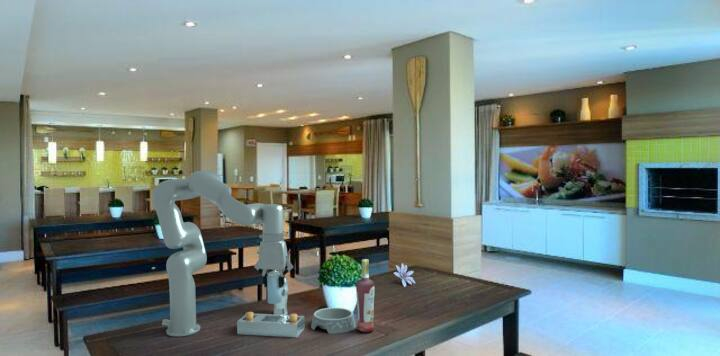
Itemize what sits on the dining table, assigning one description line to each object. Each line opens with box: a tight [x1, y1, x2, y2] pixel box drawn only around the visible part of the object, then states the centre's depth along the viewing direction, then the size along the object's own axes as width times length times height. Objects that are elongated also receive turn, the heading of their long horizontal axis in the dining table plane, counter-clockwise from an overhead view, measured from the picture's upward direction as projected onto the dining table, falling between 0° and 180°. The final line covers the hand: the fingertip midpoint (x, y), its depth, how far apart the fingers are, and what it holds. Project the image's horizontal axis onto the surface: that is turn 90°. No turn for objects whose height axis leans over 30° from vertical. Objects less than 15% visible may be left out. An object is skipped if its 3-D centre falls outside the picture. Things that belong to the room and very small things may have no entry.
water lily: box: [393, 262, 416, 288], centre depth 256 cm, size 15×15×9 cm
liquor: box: [355, 258, 376, 333], centre depth 185 cm, size 7×7×28 cm
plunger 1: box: [245, 311, 254, 321], centre depth 187 cm, size 3×3×5 cm
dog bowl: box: [310, 307, 357, 335], centre depth 192 cm, size 17×18×5 cm
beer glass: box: [273, 277, 289, 315], centre depth 207 cm, size 7×7×15 cm
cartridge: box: [266, 269, 281, 305], centre depth 176 cm, size 5×5×12 cm
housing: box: [236, 312, 306, 338], centre depth 186 cm, size 24×10×5 cm, turn 81°
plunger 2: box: [288, 313, 298, 323], centre depth 184 cm, size 3×3×5 cm
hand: (274, 286), depth 176 cm, fingers closed on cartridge, 5 cm apart
